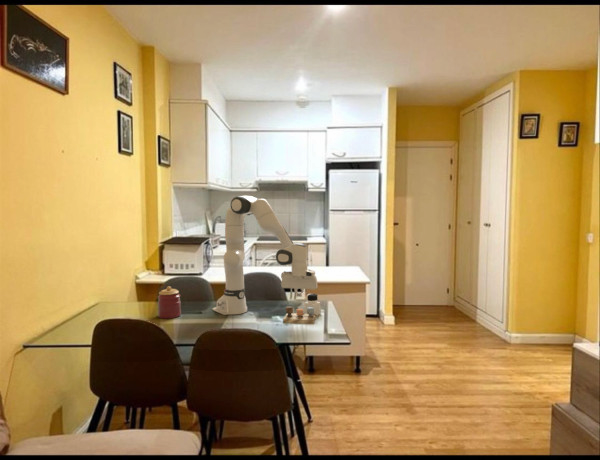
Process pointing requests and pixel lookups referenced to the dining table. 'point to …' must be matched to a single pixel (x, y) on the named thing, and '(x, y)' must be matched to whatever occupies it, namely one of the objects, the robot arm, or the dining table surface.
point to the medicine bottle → (312, 304)
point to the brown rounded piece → (289, 310)
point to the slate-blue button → (310, 311)
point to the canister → (169, 303)
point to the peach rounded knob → (299, 312)
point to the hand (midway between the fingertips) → (299, 296)
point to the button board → (299, 318)
